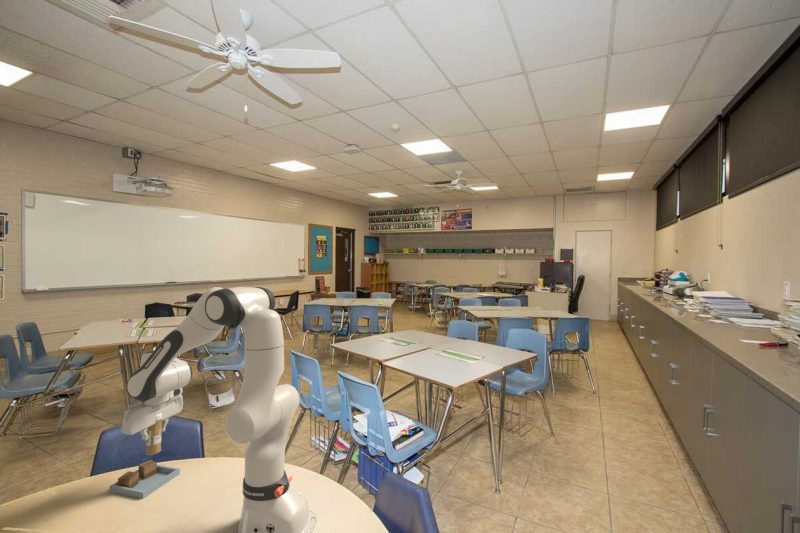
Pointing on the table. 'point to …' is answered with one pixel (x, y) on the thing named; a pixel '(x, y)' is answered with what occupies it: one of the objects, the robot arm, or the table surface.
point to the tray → (148, 482)
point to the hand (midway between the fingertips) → (154, 435)
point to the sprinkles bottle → (154, 437)
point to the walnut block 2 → (147, 469)
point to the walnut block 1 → (129, 479)
